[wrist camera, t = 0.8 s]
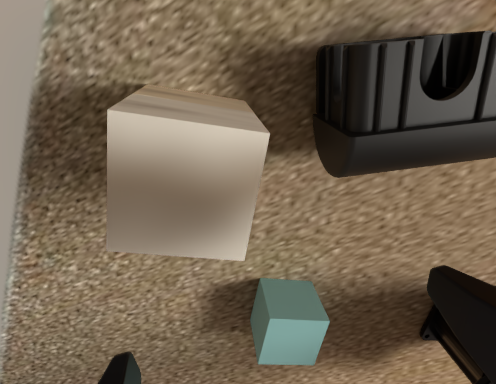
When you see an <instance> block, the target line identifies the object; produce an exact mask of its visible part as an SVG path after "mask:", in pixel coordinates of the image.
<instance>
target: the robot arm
mask: <svg viewBox="0 0 496 384" xmlns="http://www.w3.org/2000/svg"><path fill="white" fill-rule="evenodd" d="M427 291H428V294H429V296H430V297H431V299H432V300H433V302H434V304H435V305H434V307H433V308H432V310H431V312H430V314H429V316H428V318H427V320H426V322H425V324H424V326H423V328H422V330H421V332H420V336H421V338H422V339H423V340H436V341H438V342H439V343H440V344H441V345H442V347H443V348H444V349H445V350H446V352H447V353H448V354H449V355H450V357H451V358H452V359H453V360H454V362H455V363H456V364H457V365H458V367H459V368H460V369H461V370H462V372H463V373H464V374H465V375H466V377H467V378H468V379H469V380H470V382H471V383H472V384H496V287H495V286H493V285H490V284H488V283H486V282H483V281H481V280H479V279H476V278H474V277H472V276H469V275H467V274H465V273H462V272H460V271H458V270H455V269H453V268H451V267H448V266H445V265H443V266H438V267H435V268H432V269H431V270H430V274H429V279H428V284H427ZM98 384H141V373H140V369H139V367H138V365H137V363H136V361H135V358H134V356H133V354H132V353H131V352H124V353H121V354H117V355H115V356H114V357H113V359H112V360H111V362H110V364H109V365H108V367H107V369H106V370H105V372H104V374H103V376H102V377H101V379H100V381H99V382H98Z"/></svg>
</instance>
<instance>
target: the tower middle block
mask: <svg viewBox="0 0 496 384" xmlns="http://www.w3.org/2000/svg"><path fill="white" fill-rule="evenodd" d="M269 137H270V133H269V131H268V130H267V129H266V128H265V126H264V125H263V124H262V122H261V121H260V120H259V119H258V117H257V116H256V115H255V113H253V112H247V111H240V110H234V109H228V108H221V107H215V106H209V105H202V104H196V103H190V102H183V101H177V100H171V99H164V98H158V97H152V96H145V95H139V94H131V95H129V96H128V97H126V98H125V99H123V100H122V101H120V102H118V103H117V104H115V105H114V106H112V107H111V108H109V109H107V244H106V251H111V252H126V253H140V254H154V255H168V256H182V257H196V258H210V259H224V260H238V261H244V260H245V255H246V250H247V245H248V240H249V235H250V230H251V225H252V220H253V216H254V211H255V206H256V201H257V196H258V191H259V186H260V181H261V176H262V171H263V166H264V161H265V156H266V151H267V147H268V142H269Z"/></svg>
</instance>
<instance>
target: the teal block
mask: <svg viewBox="0 0 496 384" xmlns="http://www.w3.org/2000/svg"><path fill="white" fill-rule="evenodd" d="M250 322H251V327H252V333H253V339H254V345H255V351H256V356H257V362H258V364H277V365H314V364H315V361H316V358H317V356H318V353H319V350H320V347H321V345H322V342H323V339H324V336H325V334H326V331H327V328H328V325H329V323H330V320H329V318H328V316H327V314H326V312H325V310H324V307H323V305H322V303H321V301H320V299H319V297H318V294H317V292H316V290H315V288H314V286H313V284H312V282H311V281H297V280H282V279H268V278H260V280H259V285H258V289H257V293H256V297H255V301H254V305H253V310H252V314H251V318H250Z"/></svg>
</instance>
